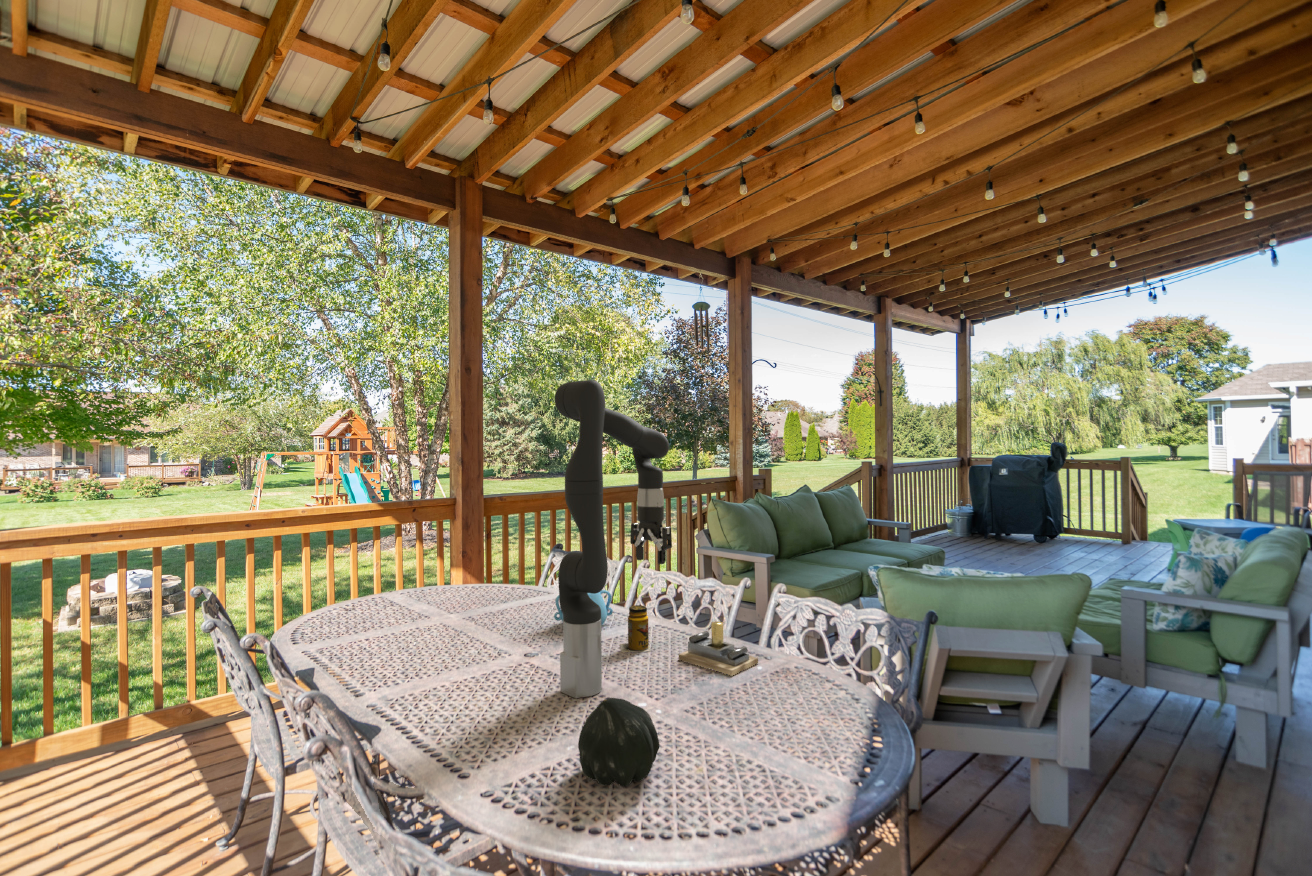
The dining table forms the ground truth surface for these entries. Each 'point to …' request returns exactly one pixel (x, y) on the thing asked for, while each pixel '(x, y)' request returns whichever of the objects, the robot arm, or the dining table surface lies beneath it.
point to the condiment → (637, 630)
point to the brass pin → (717, 634)
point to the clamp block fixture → (717, 655)
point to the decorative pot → (597, 599)
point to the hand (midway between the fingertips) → (650, 561)
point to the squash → (618, 743)
